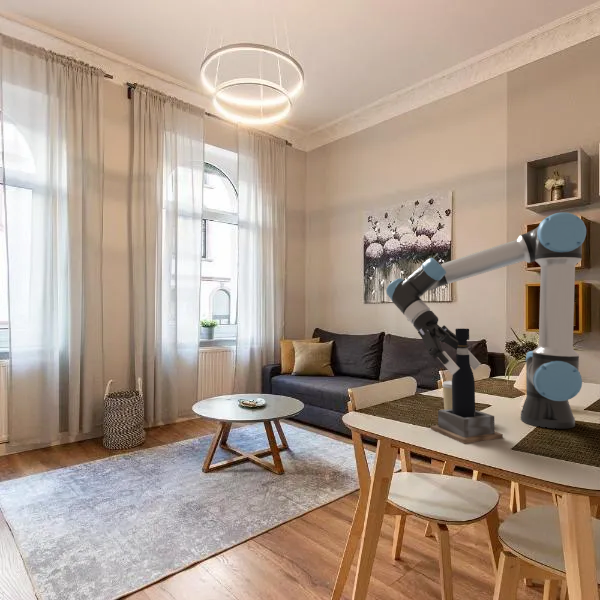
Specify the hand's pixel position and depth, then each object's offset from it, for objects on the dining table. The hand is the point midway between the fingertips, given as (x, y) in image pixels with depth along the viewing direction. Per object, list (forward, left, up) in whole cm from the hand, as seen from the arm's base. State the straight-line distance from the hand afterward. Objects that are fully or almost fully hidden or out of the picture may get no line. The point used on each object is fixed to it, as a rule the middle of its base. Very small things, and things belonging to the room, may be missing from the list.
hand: (467, 369), depth 123 cm
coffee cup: (-9, -15, -19) cm, 26 cm away
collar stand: (0, -1, -19) cm, 19 cm away
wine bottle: (0, -1, -18) cm, 18 cm away
